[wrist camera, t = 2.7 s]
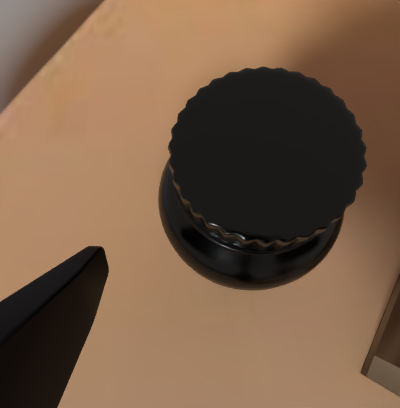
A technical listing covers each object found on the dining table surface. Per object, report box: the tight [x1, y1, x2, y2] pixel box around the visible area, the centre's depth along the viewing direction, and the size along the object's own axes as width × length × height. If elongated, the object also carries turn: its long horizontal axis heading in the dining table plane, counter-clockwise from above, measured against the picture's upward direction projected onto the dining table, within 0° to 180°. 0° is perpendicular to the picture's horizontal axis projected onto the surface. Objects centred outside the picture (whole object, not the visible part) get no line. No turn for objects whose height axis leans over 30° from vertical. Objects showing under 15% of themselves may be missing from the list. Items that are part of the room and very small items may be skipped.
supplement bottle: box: [158, 67, 367, 290], centre depth 12 cm, size 7×7×12 cm
